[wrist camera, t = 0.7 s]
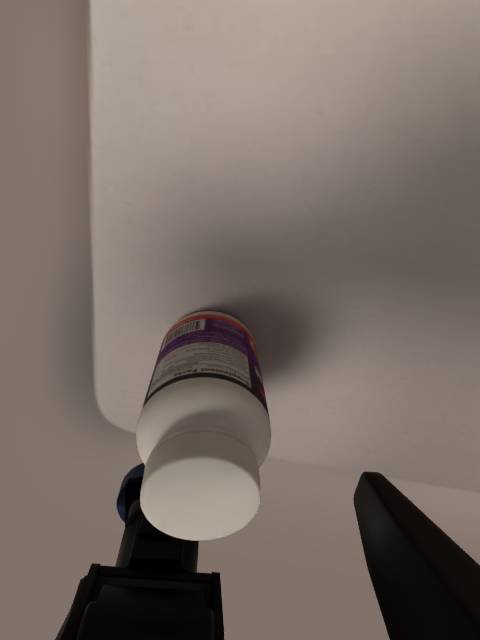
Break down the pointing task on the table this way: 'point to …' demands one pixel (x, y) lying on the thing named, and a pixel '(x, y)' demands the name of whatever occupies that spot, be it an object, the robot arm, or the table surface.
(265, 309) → the table surface
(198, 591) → the robot arm
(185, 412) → the pill bottle
